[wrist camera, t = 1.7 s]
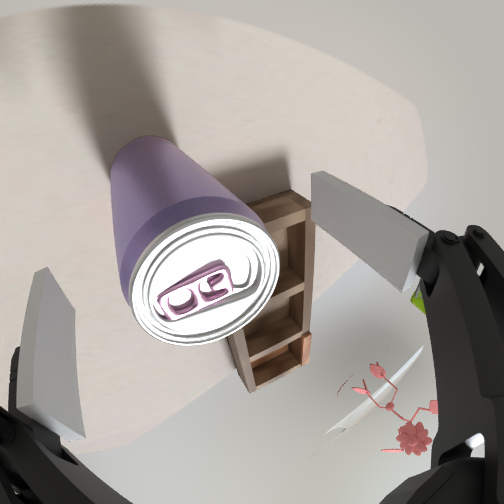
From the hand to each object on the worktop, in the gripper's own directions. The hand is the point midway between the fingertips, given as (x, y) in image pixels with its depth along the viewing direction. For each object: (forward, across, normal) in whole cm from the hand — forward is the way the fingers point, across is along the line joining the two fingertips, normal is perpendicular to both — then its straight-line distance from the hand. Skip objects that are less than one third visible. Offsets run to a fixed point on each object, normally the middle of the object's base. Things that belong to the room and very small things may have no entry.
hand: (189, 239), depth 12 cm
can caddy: (+12, +8, -20) cm, 24 cm away
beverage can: (+12, 0, 0) cm, 12 cm away
